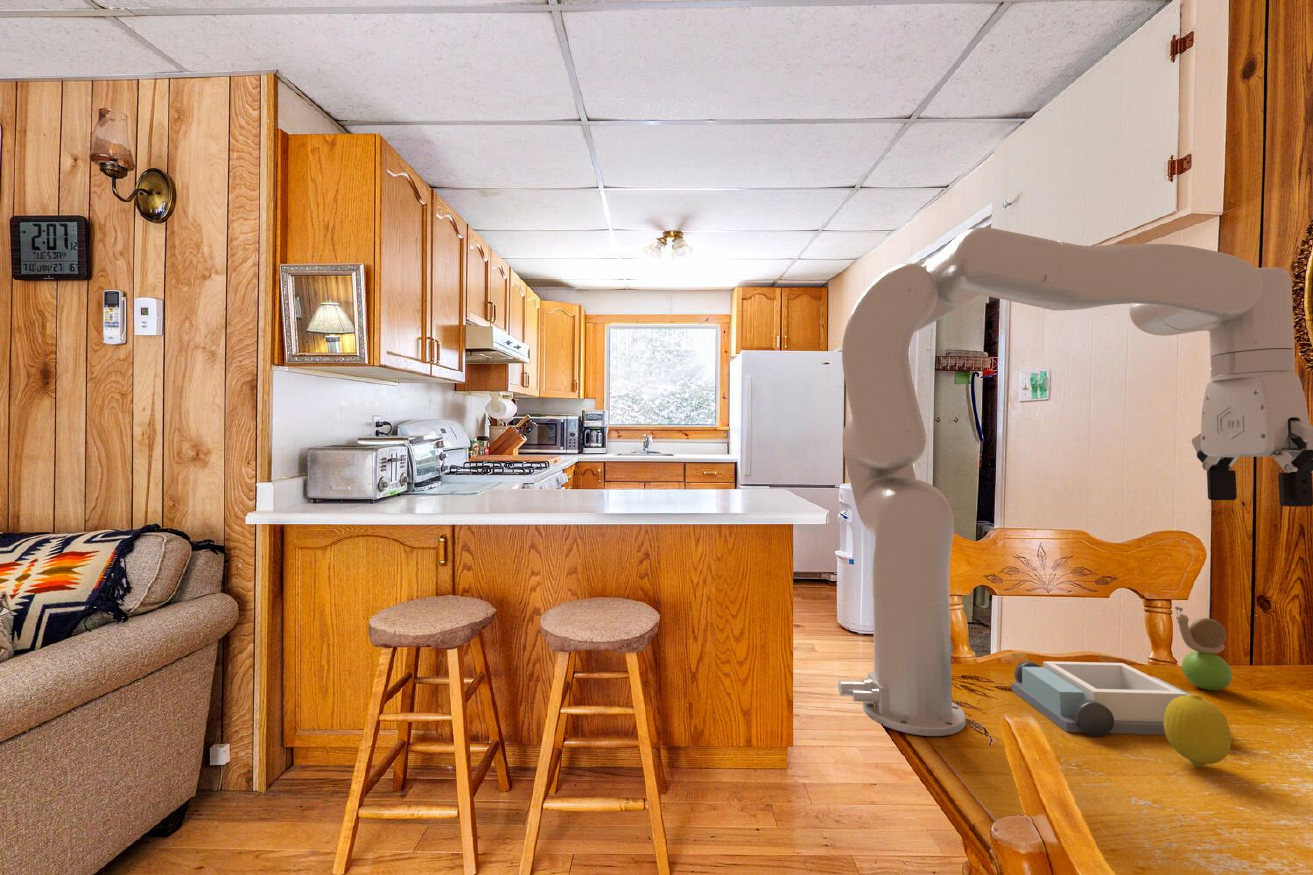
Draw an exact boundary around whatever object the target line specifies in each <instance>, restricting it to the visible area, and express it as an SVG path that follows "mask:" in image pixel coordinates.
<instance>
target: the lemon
mask: <svg viewBox="0 0 1313 875" xmlns="http://www.w3.org/2000/svg"><path fill="white" fill-rule="evenodd" d="M1189 694H1190V695H1186V696H1180V697H1177V698H1175V699H1173V700H1172V701H1171V702H1170V703H1169V704H1168V706H1167V708H1166V711H1165V714H1164V730H1165V734H1166V735H1165V737H1166V739H1167V741H1168V743H1169V745H1170V746H1171V747H1172V749H1174V750H1175V752H1177V753H1178V754H1179V755H1180V756H1182V757H1184V758H1185V759H1187V760H1188V761H1189V762H1190V763H1192V765H1193V766H1194V767H1197V768H1202V767H1204V766H1206V765H1212V764H1217V763H1220V762H1222V761H1223V760H1224V759H1225V758H1226V757H1227V756H1228V754H1229V752H1230V750H1231V746H1232V736H1231V735H1232V734H1231V730H1230V726H1229V723H1228V720H1227V718H1225V717H1226V716H1225V715H1223V714H1224V713H1223V712H1222V711H1221V710H1220V709H1219V708H1218V707H1217V706H1216V705H1215V704H1213V703H1212V702H1210V701H1209V700H1207V699H1205V698H1203V697H1202V696H1201V695H1200V694H1198V693H1194V692H1193V693H1192V692H1191V693H1189ZM1222 713H1223V714H1222Z"/></svg>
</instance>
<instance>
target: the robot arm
mask: <svg viewBox="0 0 1313 875" xmlns="http://www.w3.org/2000/svg"><path fill="white" fill-rule="evenodd" d="M980 296H984V297H988V298H995V299H997V300H998V299H999V300H1003V301H1009V302H1013V303H1017V304H1019V303H1020V304H1022V305H1023V304H1024V305H1027V306H1031V307H1032V306H1033V307H1036V308H1042V309H1046V310H1051V311H1074V310H1087V309H1091V308H1098V307H1105V306H1112V305H1113V306H1114V305H1126V304H1128V305H1129V304H1130V306H1129V316H1130V320H1131V322H1132V323H1133V325H1134V326H1135V327H1136V328H1138V329H1139V330H1140V331H1142V332H1144V333H1147V334H1149V335H1155V336H1161V337H1162V336H1163V337H1164V336H1165V337H1166V336H1167V337H1168V336H1175V335H1176V336H1177V335H1183V334H1189V333H1196V332H1203V331H1206V332H1209V349H1210V352H1209V353H1210V354H1209V355H1210V375H1211V376H1210V378H1211V379H1210V380H1211V381H1210V382H1208V383H1207V384H1206V387H1205V390H1204V395H1203V400H1202V407H1201V422H1200V423H1201V425H1200V433H1199V434H1197V435H1196V436H1195V437H1193V438H1192V439H1191V443H1192V445H1193V448H1194V450H1195V452H1196V458H1197V459H1198V460H1199V461H1200V462H1201V467H1202V469H1203V470H1204V471H1206V483H1207V484H1206V485H1207V487H1206V488H1207V499H1208V500H1210V501H1235V500H1237V496H1238V495H1237V474H1236V473H1237V472H1236V470H1234V469H1233V470H1232V469H1231V468H1232V467H1233V466H1234V464H1235V463H1236V461H1237V460H1238V459H1239V458H1242V457H1244V458H1245V457H1247V458H1248V457H1249V458H1251V457H1253V458H1255V457H1272V459H1274V460H1275V461H1276V463H1277V464H1278V465H1279V466H1280V467H1281V469H1282V470H1283V471H1284V472H1278V476H1277V477H1278V503H1279V504H1280V506H1281V507H1289V508H1291V507H1296V508H1297V507H1302V508H1303V507H1306V508H1307V507H1309V508H1310V507H1312V506H1313V425H1311V424H1310V422H1309V420H1310V418H1309V414H1308V413H1309V412H1308V407H1307V401H1306V396H1305V391H1304V389H1303V385H1302V382H1301V379H1300V376H1299V375H1298V374H1296V357H1295V356H1296V355H1295V353H1296V352H1295V334H1294V313H1293V312H1294V310H1293V306H1294V305H1293V288H1292V277H1291V274H1290V273H1289V271H1288V270H1286V269H1284V268H1281V267H1272V266H1271V267H1270V266H1268V267H1256V268H1255V267H1254V266H1253V264H1251V263H1249V262H1248V261H1246V260H1244V259H1242V258H1240V257H1238V256H1235V255H1232V254H1229V253H1225V252H1222V251H1221V252H1220V251H1216V250H1212V249H1207V248H1201V247H1195V246H1189V245H1183V244H1182V245H1181V244H1171V243H1170V244H1169V243H1138V244H1137V243H1135V244H1131V243H1130V244H1099V245H1084V244H1083V245H1081V244H1076V243H1069V242H1064V241H1060V240H1052V239H1047V238H1043V237H1038V236H1033V235H1028V234H1023V233H1019V232H1014V231H1009V230H1004V229H999V228H993V227H992V228H991V227H974V228H971V229H967V230H965V231H963V232H962V233H960V234H959V235H957V237H955V238H954V239H952V241H951V242H949V243H948V245H946V246H945V247H944V248H943V249H942V250H941V251H940V252H939V253H938V254H937V255H935V256H934V257H933V258H931V259H930V260H928V261H926V262H925V263H924V264H922V265H920V264H917V263H903V264H899V265H896V266H893V267H891V268H890V269H888V270H886V271H884V272H883V273H882V274H881V275H880V276H878V277H877V278H876V279H875V280H874V281H873V282H872V283H871V284H870V285H869V286H868V287H867V289H866V290H864V292H863V293H862V294H861V296H860V297H859V298H858V300H857V302H856V303H855V305H854V307H853V309H852V311H851V314H850V315H849V317H848V320H847V323H846V326H845V330H844V334H843V339H842V345H841V348H842V349H841V363H842V370H843V375H844V382H845V387H846V393H847V398H848V399H847V400H848V404H849V408H850V413H851V414H850V415H851V416H850V418H849V419H848V420H847V421H846V424H845V426H844V428H843V432H842V450H843V456H844V460H845V464H846V469H847V474H848V478H849V481H850V486H851V490H852V495H853V499H854V503H855V507H856V510H857V514H858V517H859V519H860V520H861V523H862V525H864V527H865V528H866V529H867V530H868V531H869V532H870V533H871V534H872V535H874V538H875V540H874V552H873V560H872V562H873V563H872V604H873V605H872V606H873V607H872V610H873V611H872V612H873V614H872V615H873V617H872V618H873V661H874V662H873V666H874V667H873V672H871V671H870V672H867V678H861V681H853V680H838V693H839V695H840V696H843V697H844V696H847V697H849V696H850V697H852V700H853V701H852V702H862V709H863V712H865V714H866V715H867V717H869V718H870V719H871V720H872V721H874V722H876V723H877V724H879V725H880V726H884V727H886V728H888V729H891V730H894V731H896V732H897V731H898V732H901V733H905V734H910V735H915V736H925V737H942V736H943V737H945V736H950V735H954V734H957V733H959V732H960V731H962V730H964V728H965V727H966V723H967V722H966V721H967V720H966V719H967V716H966V713H965V712H964V710H963V709H962V707H960V706H959V705H958V704H956V703H955V702H953V693H952V692H953V690H952V689H953V686H952V684H953V682H952V645H951V644H952V641H951V640H952V638H951V600H950V599H951V598H950V596H951V595H950V566H951V556H952V548H953V543H954V541H953V540H954V534H955V533H954V531H955V519H954V513H953V510H952V507H951V504H950V503H949V500H948V499H947V498H946V496H945V495H944V494H943V493H942V492H941V490H940V489H938V488H937V487H935V486H934V485H932V484H930V483H929V482H926V481H923V480H920V479H917V478H916V473H915V469H914V466H913V465H915V463H916V462H917V461H918V460H920V459H921V457H922V456H923V454H924V453H925V449H926V447H927V446H926V445H927V434H926V429H925V426H924V421H923V418H922V413H921V410H920V406H919V402H918V399H917V394H916V390H915V386H914V381H913V377H912V371H911V365H910V346H911V342H912V339H913V336H914V333H916V332H917V331H920V330H922V329H923V328H925V327H927V326H930V325H931V324H933V323H935V322H937V321H939V320H941V319H943V318H944V317H946V316H948V315H949V314H951V313H953V312H955V311H956V310H958V309H959V308H961V307H963V306H965V305H966V304H968V303H969V302H972V301H973V300H975V299H976V298H978V297H980ZM874 704H875V708H874ZM882 724H883V725H882Z"/></svg>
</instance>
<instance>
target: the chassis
mask: <svg viewBox="0 0 1313 875" xmlns="http://www.w3.org/2000/svg"><path fill="white" fill-rule="evenodd" d="M1014 679H1015V680H1016V682H1014V681H1012V682H1011V691H1012V692H1013V693H1014V694H1016V695H1017V696H1018V697H1020V698H1021V699H1022V700H1024V702H1026V703H1028V704H1029V705H1030V706H1032V707H1033V708H1034V709H1035V710H1037V711H1038V712H1039V713H1041V714H1042V715H1043V716H1045V717H1046V718H1047V719H1049V720H1050V721H1051V722H1053V723H1054V724H1055V725H1057V727H1059V728H1061V730H1063V731H1064V732H1066V733H1084V734H1085V733H1086V734H1088V735H1089V736H1091V737H1094V738H1095V737H1096V738H1102V737H1104V736H1105V737H1106V735H1108V734H1120V735H1121V734H1123V735H1124V734H1125V735H1157V736H1160V735H1161V736H1166V734H1165V730H1164V714H1165V711H1166V708H1167V706H1168V704H1169V703H1170V702H1171V701H1172V700H1173V699H1175V698H1177V697H1180V696H1186V695H1190V694H1191V693H1189V692H1186V691H1184V690H1182V689H1180V688H1179V687H1176V686H1174V685H1172V684H1170V683H1168V682H1166V681H1164V680H1162V679H1160V678H1158V677H1156V676H1150V675H1148V674H1147V673H1145V672H1142V671H1140V670H1138V669H1136V668H1134V667H1133V666H1130V665H1128V664H1126V663H1123V662H1098V661H1097V662H1095V661H1094V662H1093V661H1092V662H1090V661H1089V662H1088V661H1087V662H1086V661H1049V660H1048V661H1043V662H1042V666H1041V665H1039V663H1038V664H1037V663H1036V662H1034V661H1031V660H1025V661H1022V662H1020V663H1019V664H1018V665H1017V666H1016V668H1015V670H1014ZM1222 714H1223V715H1224V713H1223V712H1222ZM1224 716H1225V715H1224ZM1225 718H1226V716H1225ZM1226 719H1227V718H1226Z"/></svg>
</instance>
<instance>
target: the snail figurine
mask: <svg viewBox="0 0 1313 875" xmlns="http://www.w3.org/2000/svg"><path fill="white" fill-rule="evenodd" d="M1174 609H1175V610H1176V611H1179V614H1178V612H1176V615H1177V616H1176V621H1177V623H1178V629H1179V632H1180V634H1181V637H1182V639H1183V641H1184V643H1185V645H1186V646H1187V647H1188V648H1189V649H1191V650H1193V651H1192V652H1190V653H1189V654H1187V655H1186V656H1185V657H1184V658H1183V660H1182V663H1181V667H1182V668H1181V670H1182V672H1183V674H1184V676H1185V677H1186V679H1187V680H1188V681H1189V682H1191V684H1193V685H1194V686H1196V687H1198V688H1200V689H1204V690H1205V691H1221V690H1224V689H1225V688H1227V687H1228V686H1230V684H1231V683H1232V680H1233V672H1232V671H1233V670H1232V669H1231V667H1230V665H1229V663H1228V661H1227V662H1226V660H1225V659H1224V658H1222V657H1221V656H1219V655H1218V654H1220V653H1221V652H1222V651H1224V649H1225V648H1226V646H1225V644H1224V643H1225V641H1226V640H1227V631H1226V629H1225V627H1224V626H1223V625H1222V624H1221V623H1220V622H1219V621H1218V620H1215V619H1214V618H1213V619H1212V618H1207V617H1203V618H1198V619H1196V620H1194V621H1193V622H1192V623H1191V625H1190V626H1189V617H1188V616H1187V615H1185V614H1184V613H1183V614H1182V611H1183V610H1184V609H1183V607H1181V606H1178V605H1176V606H1174Z"/></svg>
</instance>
